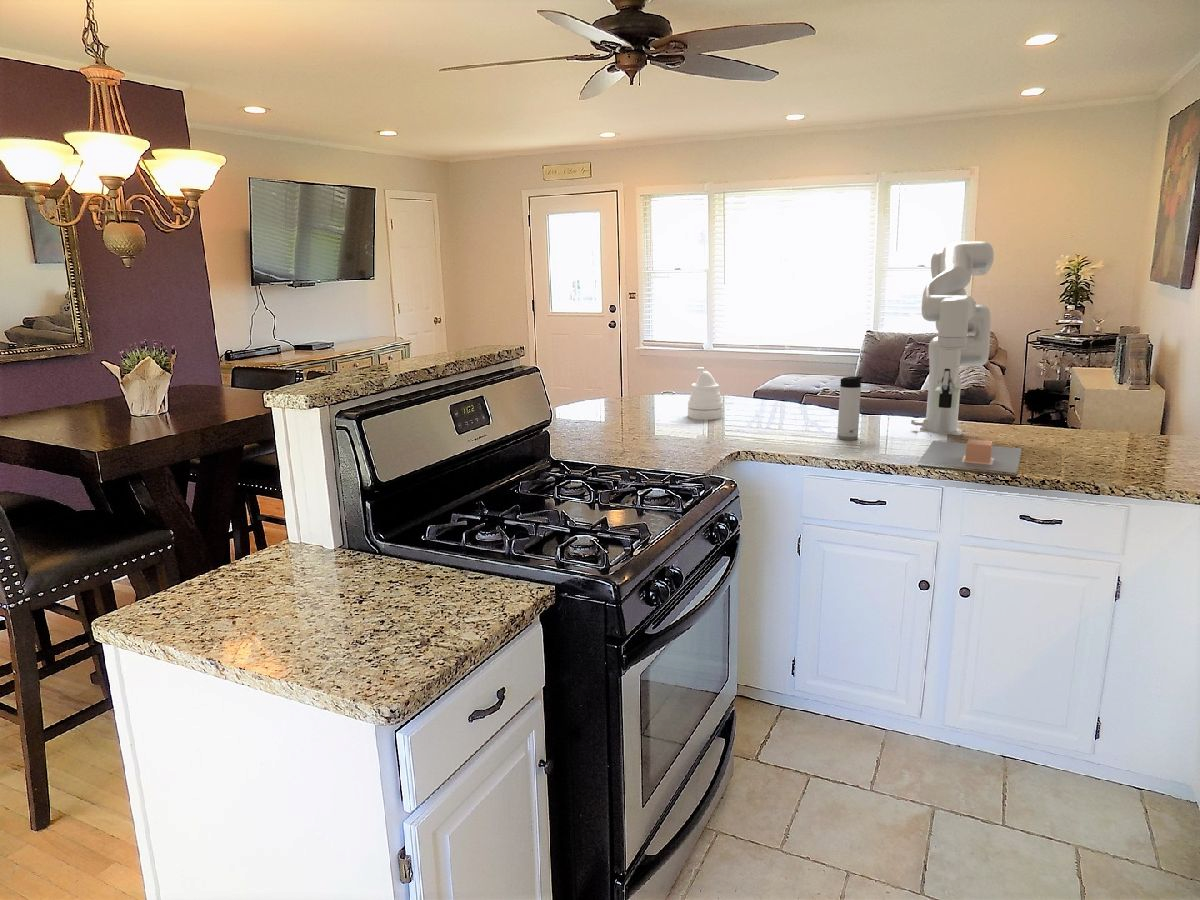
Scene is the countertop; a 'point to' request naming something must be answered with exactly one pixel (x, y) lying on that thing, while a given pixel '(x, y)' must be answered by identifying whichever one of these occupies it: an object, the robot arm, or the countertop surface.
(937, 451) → the baseplate
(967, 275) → the robot arm
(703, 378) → the honey pot
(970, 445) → the terracotta brick
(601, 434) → the countertop surface
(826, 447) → the countertop surface
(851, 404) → the travel mug
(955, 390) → the sage brick
